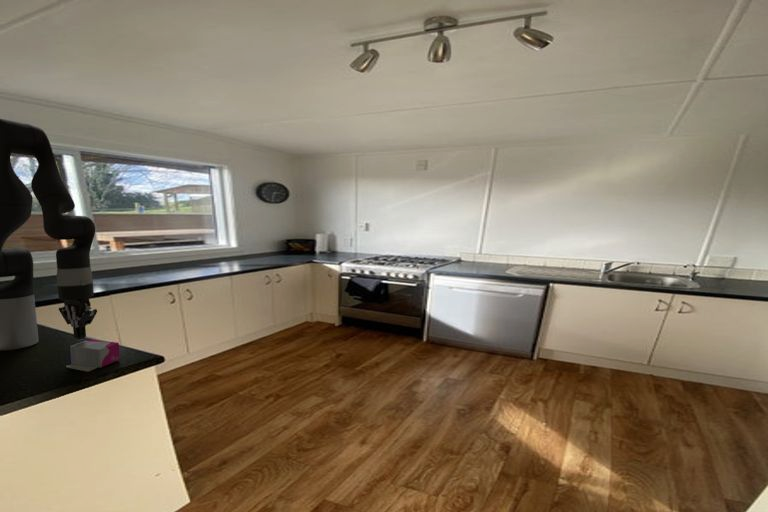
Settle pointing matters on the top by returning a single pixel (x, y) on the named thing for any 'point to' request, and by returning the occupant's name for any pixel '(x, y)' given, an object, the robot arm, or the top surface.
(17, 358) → the top surface
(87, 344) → the supplement box
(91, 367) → the mat
